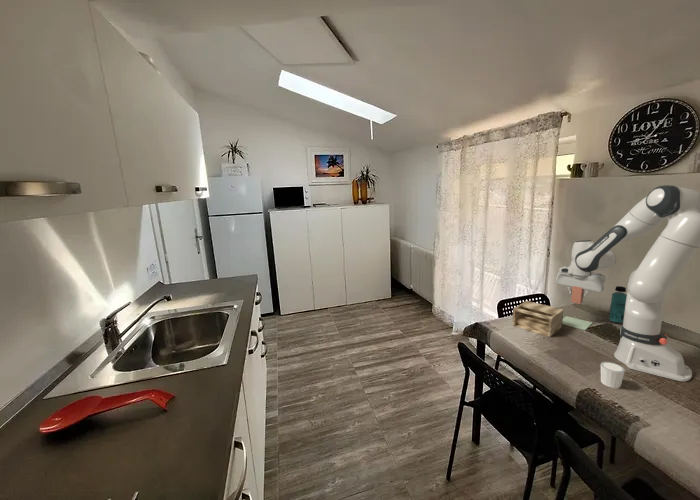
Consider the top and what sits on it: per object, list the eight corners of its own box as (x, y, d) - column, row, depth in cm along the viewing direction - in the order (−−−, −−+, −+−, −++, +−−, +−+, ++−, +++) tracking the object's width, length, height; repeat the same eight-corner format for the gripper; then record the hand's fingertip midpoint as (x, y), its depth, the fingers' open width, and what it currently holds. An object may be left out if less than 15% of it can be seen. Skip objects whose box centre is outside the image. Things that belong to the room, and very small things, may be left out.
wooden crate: (561, 327, 157) (563, 309, 155) (550, 337, 148) (551, 318, 146) (525, 317, 171) (526, 300, 169) (512, 325, 162) (513, 308, 160)
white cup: (616, 391, 108) (618, 374, 106) (594, 381, 114) (596, 364, 113) (626, 385, 110) (629, 368, 109) (605, 375, 117) (607, 359, 115)
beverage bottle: (605, 320, 162) (609, 285, 159) (618, 320, 161) (623, 284, 158) (613, 325, 156) (618, 289, 152) (628, 325, 155) (632, 288, 151)
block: (582, 302, 158) (584, 285, 156) (580, 304, 156) (582, 287, 154) (573, 300, 161) (575, 284, 160) (571, 301, 159) (572, 285, 157)
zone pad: (592, 323, 160) (592, 322, 160) (585, 330, 153) (585, 329, 152) (566, 316, 169) (566, 316, 169) (558, 323, 162) (558, 322, 162)
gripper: (607, 273, 149) (604, 299, 152) (560, 266, 165) (557, 289, 168) (604, 275, 145) (600, 302, 148) (555, 268, 161) (553, 292, 164)
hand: (577, 295), depth 158 cm, fingers closed on block, 4 cm apart
